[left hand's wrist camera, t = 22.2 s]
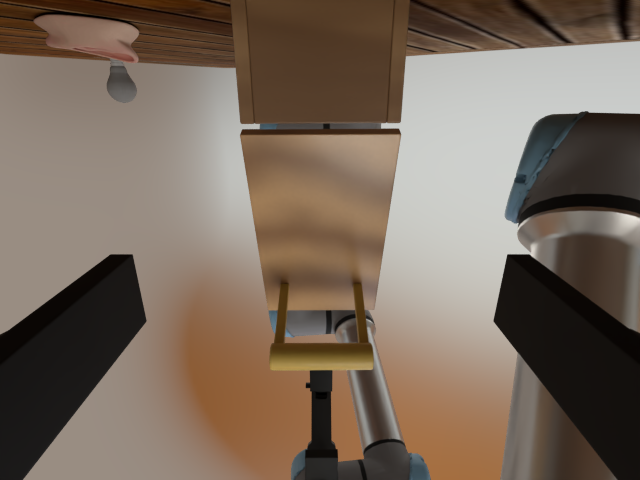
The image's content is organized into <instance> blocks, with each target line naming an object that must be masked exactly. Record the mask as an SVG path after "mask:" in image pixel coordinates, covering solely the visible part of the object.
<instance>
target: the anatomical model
mask: <svg viewBox="0 0 640 480" xmlns="http://www.w3.org/2000/svg"><path fill="white" fill-rule="evenodd" d="M34 23H35V24H37V25H38V26H39V27H41V28H43V29H44V30H46V31H47V32H48V33H49V36H48V37H47V38H46V43H47V45H48V46H50V47H55V48H63V49H70V50H75V51H80V52H85V53H90V54H94V55H99V56H103V57H107V58H111V59H115V60H119V61H124V62H129V63H137V62H138V56H137V54H136V52H135V51H134V50H133V49H132V48H131V43H132V42H133V41H134V40H135V39H136V38H137V37H138V35H139V31H138V30H137V29H136V28H135V27H133V26H132V25H130V24H127V23H124V22H120V21H115V20H108V19H101V18H93V17H84V16H73V15H61V14H48V15H42V16H39V17H37V18H35V20H34Z"/></svg>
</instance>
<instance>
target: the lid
mask: <svg viewBox="0 0 640 480" xmlns="http://www.w3.org/2000/svg"><path fill="white" fill-rule="evenodd" d="M240 138H241V144H242V150H243V156H244V162H245V169H246V175H247V181H248V187H249V194H250V200H251V206H252V212H253V218H254V225H255V231H256V237H257V243H258V250H259V256H260V262H261V268H262V275H263V281H264V287H265V293H266V299H267V306H268V310H278V312H277V321H276V330H275V340H274V343H272V344H271V347H270V369H271V370H372V369H373V366H374V354H373V346H372V344H371V343H369V340H368V331H367V323H366V315H365V310H374V308H375V301H376V295H377V288H378V281H379V275H380V269H381V262H382V256H383V249H384V243H385V236H386V229H387V223H388V217H389V210H390V204H391V197H392V191H393V184H394V177H395V171H396V164H397V158H398V151H399V145H400V139H401V133H400V130H399V129H243V130H242V132H241V134H240ZM287 310H355V314H356V325H357V335H358V343H285V335H286V322H287Z"/></svg>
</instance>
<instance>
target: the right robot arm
mask: <svg viewBox="0 0 640 480" xmlns="http://www.w3.org/2000/svg"><path fill="white" fill-rule="evenodd" d="M260 129H381V123H305V124H260ZM277 312H278V310H269V316H270V321H271V326H272V329H273V332H274V333H275V330H276V321H277ZM365 315H366V323H367V331H368V340H369V343H371V344H372V346H373V354H374V366H373V369H372V370H347V375H348V380H349V385H350V390H351V395H352V400H353V405H354V410H355V415H356V420H357V426H358V431H359V436H360V441H361V446H362V451H363V455H364V459H362V460H352V461H343V462H338V451H337V449H336V448H335V443H334V442H333V441H332V440H331V391H332V370H310V383H306V388H310V391H312V440H311V442H309V444H308V448H307V449H305V450H303V451H301V452H300V453H299V454H298V455H297V456H296V457H295V458H294V460H293V463H292V467H291V480H431V479H430V474H429V471H428V468H427V465H426V464H425V463H424V460H423V458H422V457H421V456H420V455H419V454H412V453H408V452H407V450H406V447H405V444H404V440H403V437H402V433H401V430H400V426H399V423H398V419H397V416H396V412H395V409H394V405H393V402H392V399H391V395H390V392H389V388H388V385H387V381H386V378H385V374H384V371H383V367H382V364H381V360H380V357H379V353H378V350H377V347H376V343H375V340H374V335H375V333H376V328H375V324H374V321H373V318H372V316H371V314H370V312H369V311H368V310H365ZM319 334H335V336H336V339H337V341H338V342H339V343H358V335H357V325H356V314H355V310H287V322H286V335H285V337H295V336H304V335H319Z"/></svg>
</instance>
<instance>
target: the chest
mask: <svg viewBox="0 0 640 480" xmlns="http://www.w3.org/2000/svg"><path fill="white" fill-rule="evenodd" d="M230 5H231V17H232V29H233V41H234V53H235V64H236V76H237V88H238V100H239V112H240V122H241V124H254V123H255V124H305V123H386V122H387V123H400V122H401V111H402V98H403V85H404V72H405V59H406V46H407V33H408V20H409V6H410V0H230Z"/></svg>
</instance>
